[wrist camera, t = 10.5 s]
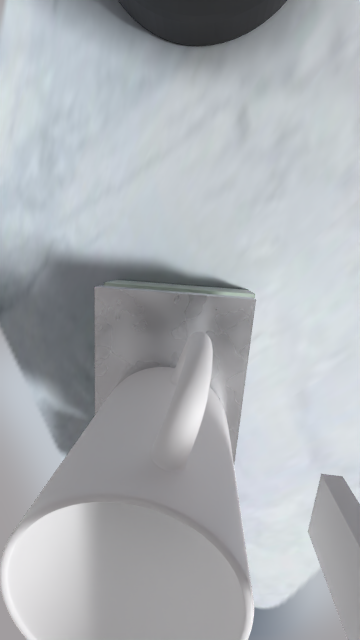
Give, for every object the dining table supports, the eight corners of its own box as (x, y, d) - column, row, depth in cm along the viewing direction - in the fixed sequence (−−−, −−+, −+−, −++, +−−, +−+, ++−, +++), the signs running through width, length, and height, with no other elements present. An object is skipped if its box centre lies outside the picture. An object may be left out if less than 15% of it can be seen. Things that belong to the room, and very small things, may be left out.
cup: (94, 448, 19) (-20, 643, 10) (140, 291, 17) (48, 337, 7) (202, 486, 19) (201, 723, 9) (267, 335, 16) (362, 447, 7)
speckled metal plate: (110, 282, 20) (94, 286, 17) (247, 293, 19) (255, 299, 16) (108, 447, 23) (95, 475, 20) (226, 461, 22) (230, 492, 19)
